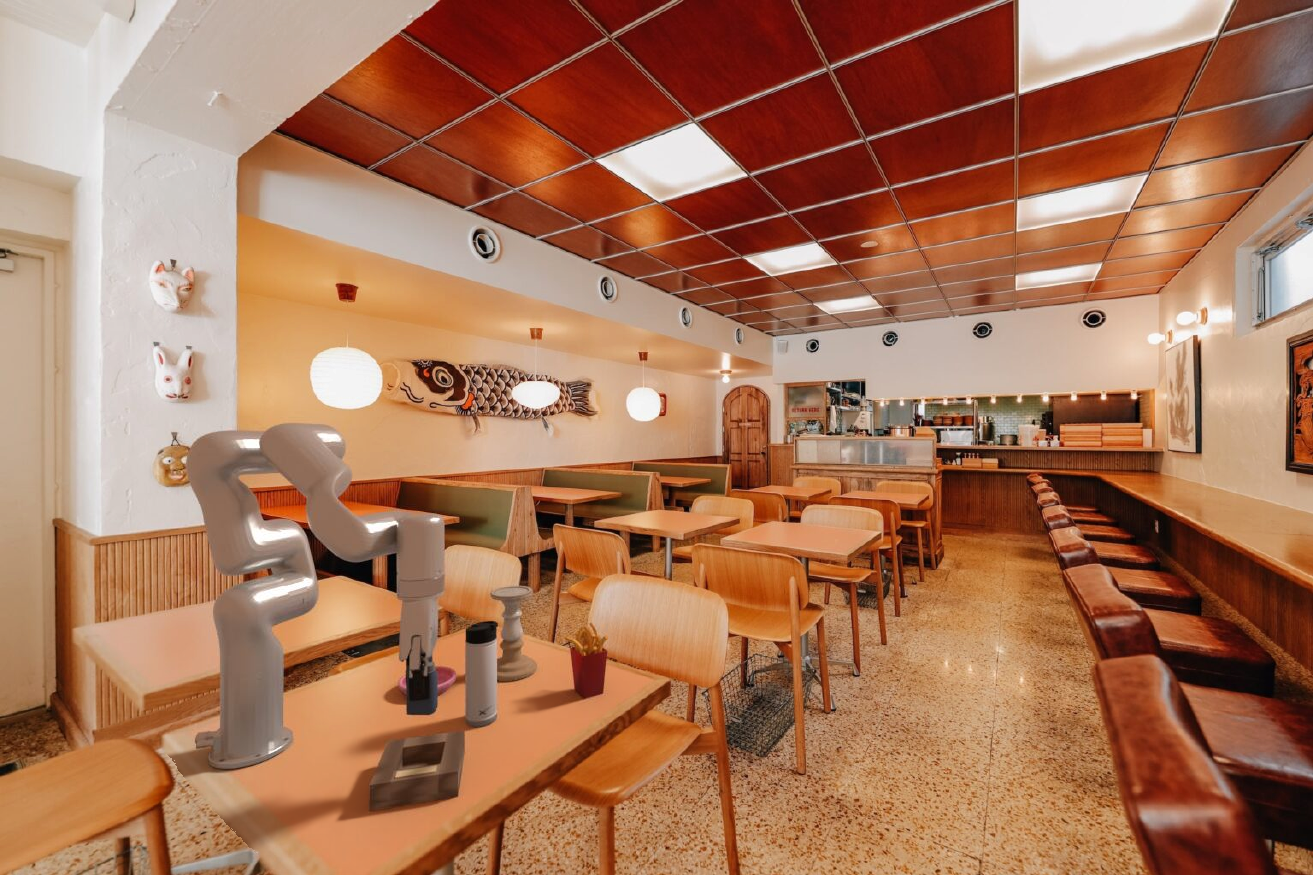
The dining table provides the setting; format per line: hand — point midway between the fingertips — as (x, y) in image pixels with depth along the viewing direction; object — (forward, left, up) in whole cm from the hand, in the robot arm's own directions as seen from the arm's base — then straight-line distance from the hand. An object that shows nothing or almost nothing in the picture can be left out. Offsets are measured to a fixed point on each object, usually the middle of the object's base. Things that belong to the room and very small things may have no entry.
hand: (421, 693), depth 92 cm
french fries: (+31, +25, -15) cm, 42 cm away
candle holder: (+15, +41, -15) cm, 46 cm away
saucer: (-4, +36, -15) cm, 39 cm away
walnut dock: (0, 0, -15) cm, 15 cm away
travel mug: (+9, +18, -15) cm, 25 cm away
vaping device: (0, 0, -3) cm, 3 cm away
